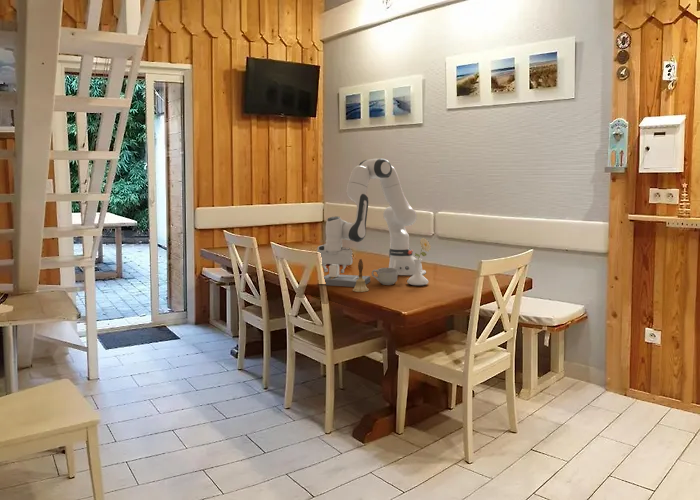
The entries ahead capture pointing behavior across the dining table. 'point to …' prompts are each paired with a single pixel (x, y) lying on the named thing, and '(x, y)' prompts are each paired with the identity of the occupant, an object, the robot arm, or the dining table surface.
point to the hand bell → (360, 280)
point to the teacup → (386, 275)
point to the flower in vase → (418, 277)
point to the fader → (333, 270)
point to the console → (344, 280)
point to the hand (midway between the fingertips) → (334, 272)
